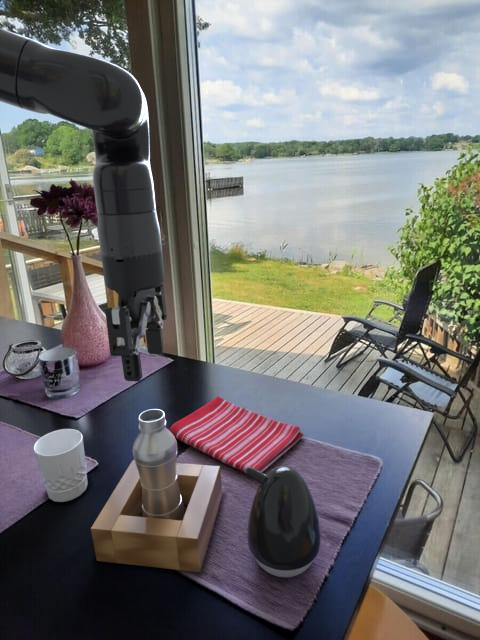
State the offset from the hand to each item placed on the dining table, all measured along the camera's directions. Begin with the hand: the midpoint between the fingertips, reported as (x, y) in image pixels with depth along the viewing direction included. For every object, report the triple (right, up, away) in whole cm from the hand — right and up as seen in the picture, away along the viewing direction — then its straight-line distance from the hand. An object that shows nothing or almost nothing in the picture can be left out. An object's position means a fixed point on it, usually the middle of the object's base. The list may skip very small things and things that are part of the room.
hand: (145, 365), depth 61 cm
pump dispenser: (+19, -28, +2) cm, 34 cm away
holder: (+1, -26, +9) cm, 28 cm away
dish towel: (+12, -18, +31) cm, 38 cm away
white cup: (-18, -24, +18) cm, 35 cm away
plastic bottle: (+1, -26, +9) cm, 28 cm away
